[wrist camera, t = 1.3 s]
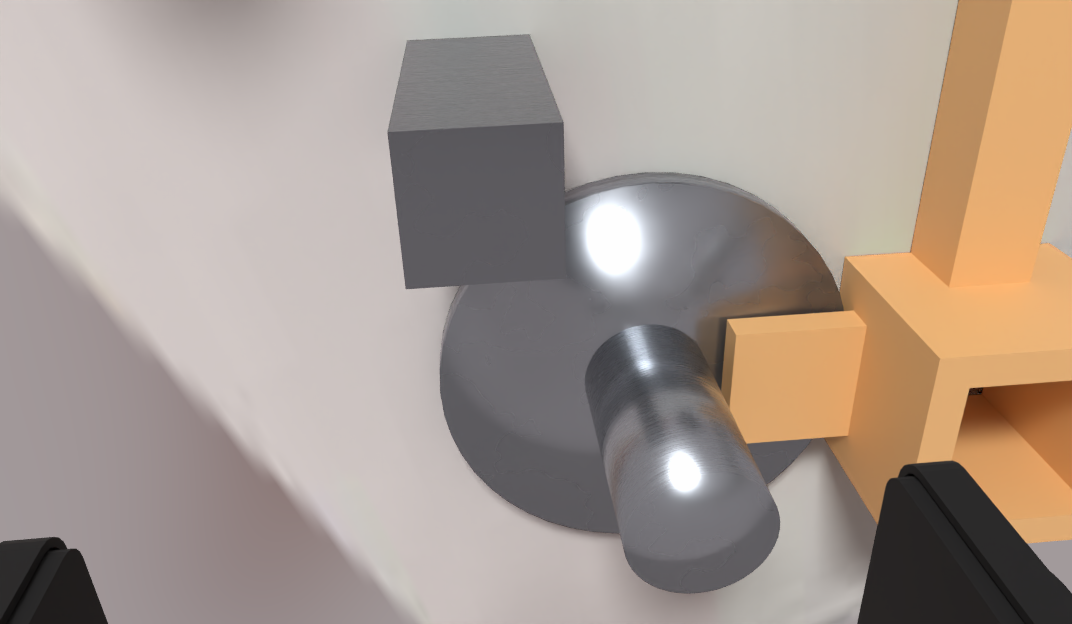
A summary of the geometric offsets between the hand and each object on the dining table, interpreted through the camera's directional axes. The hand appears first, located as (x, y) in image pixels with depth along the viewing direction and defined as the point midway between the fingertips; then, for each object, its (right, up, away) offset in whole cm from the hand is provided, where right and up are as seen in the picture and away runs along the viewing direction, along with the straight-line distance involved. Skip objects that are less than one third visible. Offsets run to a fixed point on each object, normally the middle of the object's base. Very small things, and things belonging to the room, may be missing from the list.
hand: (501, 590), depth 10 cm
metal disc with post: (+5, +1, +25) cm, 25 cm away
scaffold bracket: (+14, +7, +23) cm, 27 cm away
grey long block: (-2, +10, +19) cm, 22 cm away
